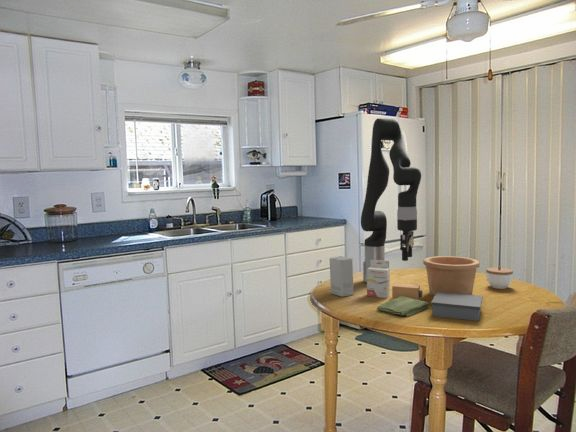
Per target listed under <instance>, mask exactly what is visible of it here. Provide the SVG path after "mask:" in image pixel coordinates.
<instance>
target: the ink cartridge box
mask: <svg viewBox="0 0 576 432" xmlns="http://www.w3.org/2000/svg"><path fill="white" fill-rule="evenodd" d="M379 262H380V263H383V264H376V263H379ZM390 272H391V269H390V260H385V261H384V260H370V267H369V268H368V269H367V283H366V296H367V297H374V298H381V299H382V298H384V299H388V298H389V296H390V281H391V280H390V279H391V276H390V275H391V274H390Z"/></svg>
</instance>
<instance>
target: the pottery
mask: <svg viewBox="0 0 576 432" xmlns="http://www.w3.org/2000/svg"><path fill="white" fill-rule="evenodd" d="M422 264H423V265H424V266H425V267H426V268H425V269H426V276H427V277H426V278H427V282H428V284H427V285H428V291H429V294H430V295H431V296H432V297H433V298H434V297H435V295H436V293H437V292H447V293H458V294H469V295H473V293H474V292H473V290H474V286H475V285H474V284H475V279H476V273H477V268H480V265H481V264H480V260H477V259H474V258H471V257H464V256H453V255H438V256H437V255H435V256H428V257H426V258H424V259H423V261H422Z"/></svg>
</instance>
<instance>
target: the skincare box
mask: <svg viewBox="0 0 576 432" xmlns="http://www.w3.org/2000/svg"><path fill="white" fill-rule="evenodd" d="M353 265H354V264H353V258H351V257H346V256H335V257H333V256H332V257H330V258H329V274H330V275H329V277H330V280H329V281H330V294H331V295H336V296H338V297H341V298H342V297H343V298H344V297H349V296H353V295H354V273H353V272H354V268H353V267H354V266H353Z"/></svg>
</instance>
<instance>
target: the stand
mask: <svg viewBox="0 0 576 432" xmlns="http://www.w3.org/2000/svg"><path fill="white" fill-rule="evenodd" d="M483 299H484V297H483V295H479V294H472V295H469V294H458V293H447V292H437V293H436V295H435V297H434V296H433V298H432V300H431V302H430V305H431V306H432V316H433V317H439V318H441V317H442V318H447V319H448V318H449V319H458V320H467V321H475V322H476V321H477V322H479V320H480V315H481V312H482V311H481V310H482V302H483Z"/></svg>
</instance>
